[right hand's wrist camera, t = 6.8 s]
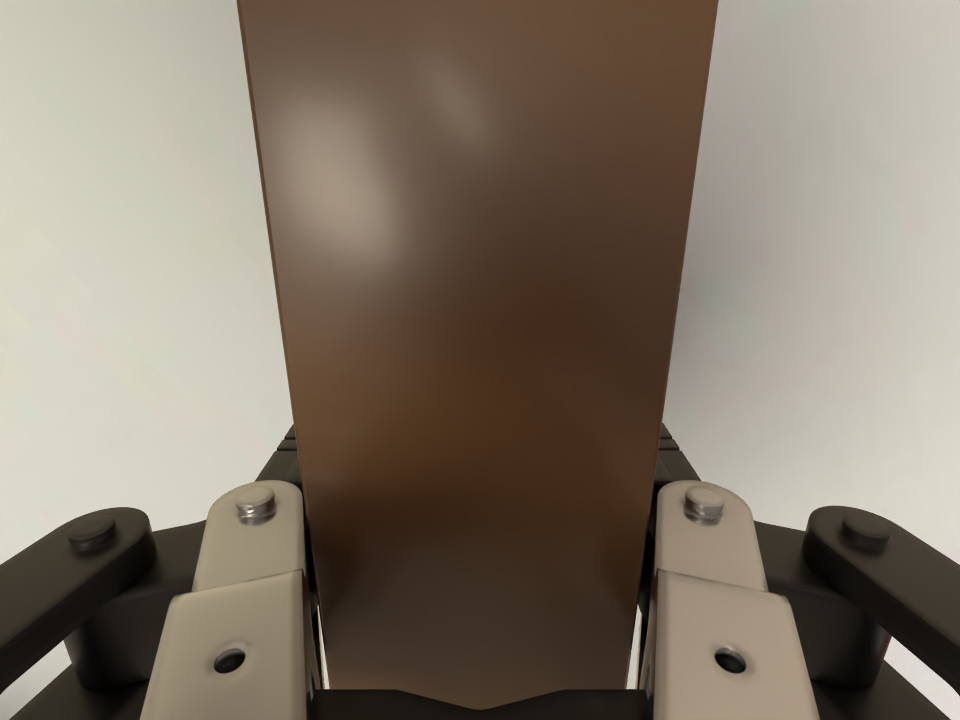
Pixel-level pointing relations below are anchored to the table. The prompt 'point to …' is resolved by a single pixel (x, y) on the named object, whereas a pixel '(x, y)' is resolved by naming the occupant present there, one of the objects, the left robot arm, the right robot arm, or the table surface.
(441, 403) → the bar
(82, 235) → the table surface
